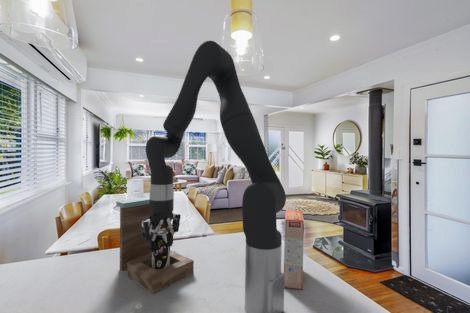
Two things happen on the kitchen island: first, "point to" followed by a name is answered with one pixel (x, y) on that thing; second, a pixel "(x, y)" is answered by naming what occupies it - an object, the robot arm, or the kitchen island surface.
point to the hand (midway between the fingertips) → (161, 248)
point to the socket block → (159, 272)
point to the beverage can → (161, 251)
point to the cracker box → (293, 249)
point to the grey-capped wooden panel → (133, 230)
